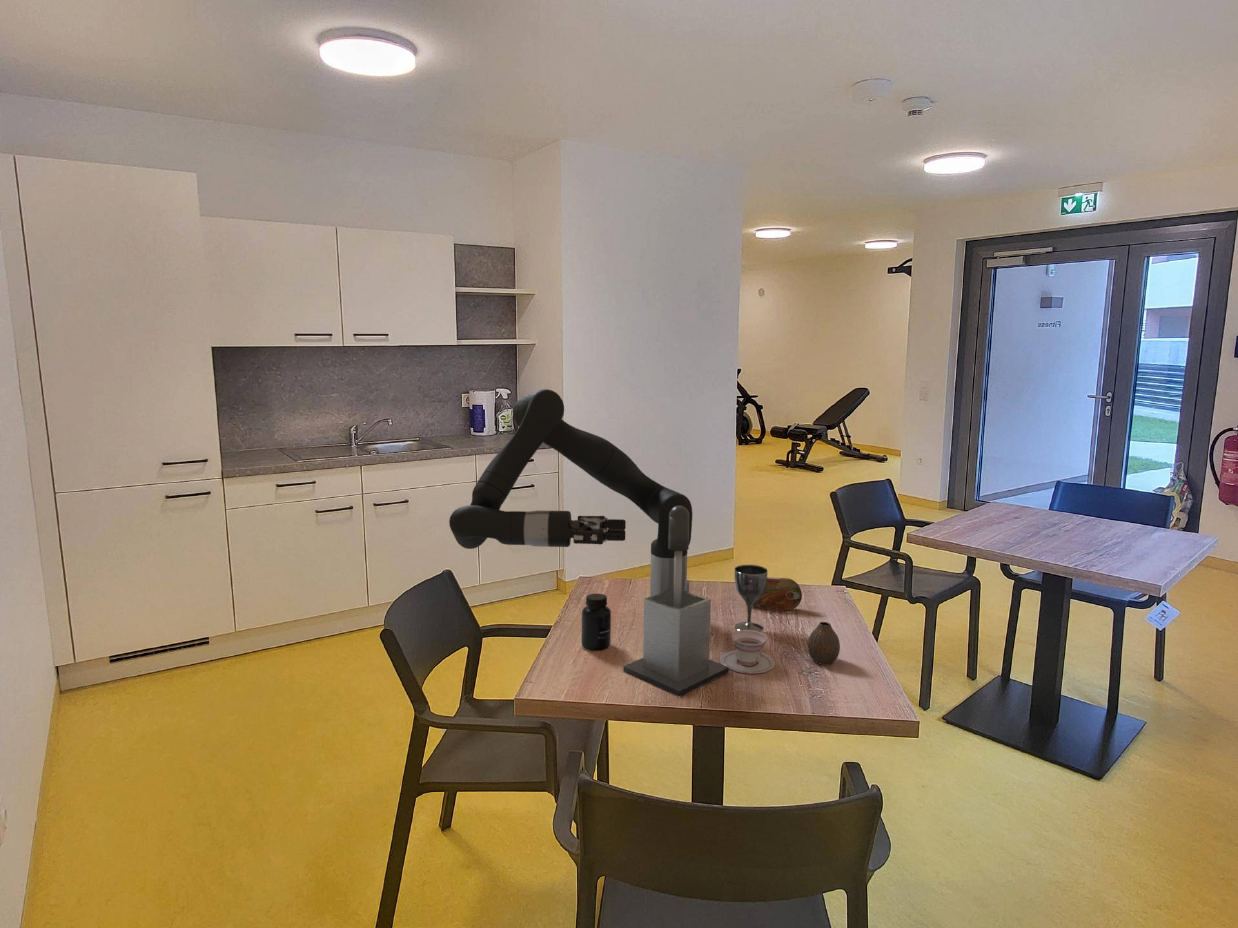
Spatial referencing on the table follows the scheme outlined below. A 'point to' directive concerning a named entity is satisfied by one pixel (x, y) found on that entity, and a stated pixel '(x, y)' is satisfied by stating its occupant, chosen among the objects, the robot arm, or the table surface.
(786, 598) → the tin
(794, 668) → the table surface
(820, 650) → the vase
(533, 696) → the table surface
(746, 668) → the teacup
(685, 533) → the screwdriver
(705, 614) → the square planter box
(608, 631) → the supplement bottle
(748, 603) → the wine glass
